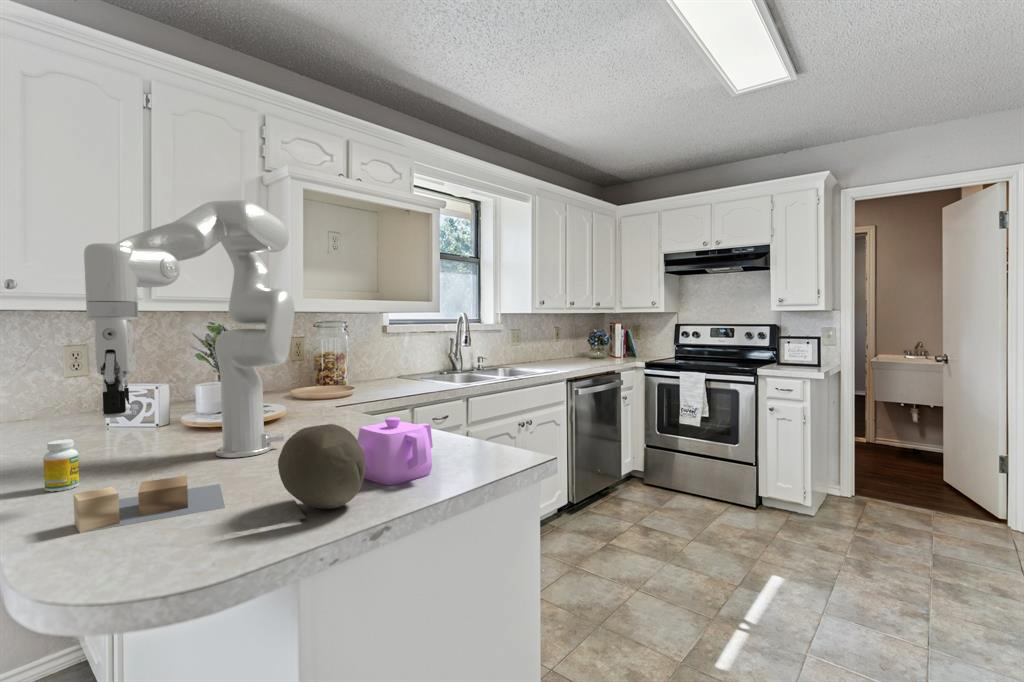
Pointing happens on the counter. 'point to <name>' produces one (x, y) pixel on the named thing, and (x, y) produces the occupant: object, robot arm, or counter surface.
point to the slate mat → (197, 502)
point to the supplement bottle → (61, 466)
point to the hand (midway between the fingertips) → (116, 410)
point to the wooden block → (163, 495)
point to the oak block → (96, 509)
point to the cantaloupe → (322, 466)
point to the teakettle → (396, 451)
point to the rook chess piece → (119, 413)
